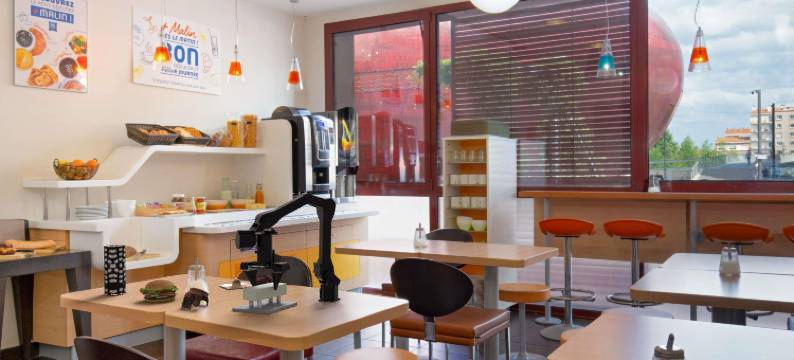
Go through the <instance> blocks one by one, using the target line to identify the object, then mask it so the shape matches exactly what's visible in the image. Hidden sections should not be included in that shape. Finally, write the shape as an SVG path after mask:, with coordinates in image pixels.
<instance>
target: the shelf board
mask: <svg viewBox="0 0 794 360" xmlns="http://www.w3.org/2000/svg"><path fill="white" fill-rule="evenodd" d="M247 287H248V286H247ZM287 289H288V288H287V283H283V282H279V285H278V288H277V290H276V291H275V290H274V287H273V283H268V284H263V285H258V286H253V287H248V288H242V300H244V301H248V302H249V301H253V302H255V301H260V300H268V298H273V299H274V298H276V297H277V296H281V297H283V296H287V294H288V293H287V292H288V291H287Z"/></svg>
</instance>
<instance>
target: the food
mask: <svg viewBox="0 0 794 360" xmlns="http://www.w3.org/2000/svg"><path fill="white" fill-rule="evenodd" d="M178 290H179V288H178V287H177V285H175V284H174V282H173V281H170V280H166V279H157V280H152V281H149V282H147V284H145V285H144V287H141V288H140V289H139V293H141V294H142V296H143V301H144V302H145V301H146V303H151V302H158V303H166V302H167V301H168V302H171V301H174V300H175V299H176V296H177V295H179V293H178V292H177V291H178Z"/></svg>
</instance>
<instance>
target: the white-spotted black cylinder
mask: <svg viewBox="0 0 794 360" xmlns="http://www.w3.org/2000/svg"><path fill="white" fill-rule="evenodd" d="M126 270H127V269H126V245H125V244H112V245H111V244H109V245H108V244H107V245H103V283H104V285H103V286H104V287H103V291H104V294H106V295H105V296H112V295H111V294H122V293H125V294H126V293H127V277H126V276H127V274H126V273H127V271H126ZM122 295H123V294H122Z"/></svg>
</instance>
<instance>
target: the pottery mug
mask: <svg viewBox="0 0 794 360" xmlns="http://www.w3.org/2000/svg"><path fill="white" fill-rule="evenodd" d="M209 295H210V293H209V292H207V291H206V290H204V289H201V288H198V287H190V288H189V290H187V292H186V293H184V296H183V299H182V302H181V306H180V308H181V309H183V308H184V309H187V310H191V309H192V307H194V308H199V307H200V306H201V302H203V301H204V302H205V303H206V306H207V307H208V305H209V301H210V300H209Z"/></svg>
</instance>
